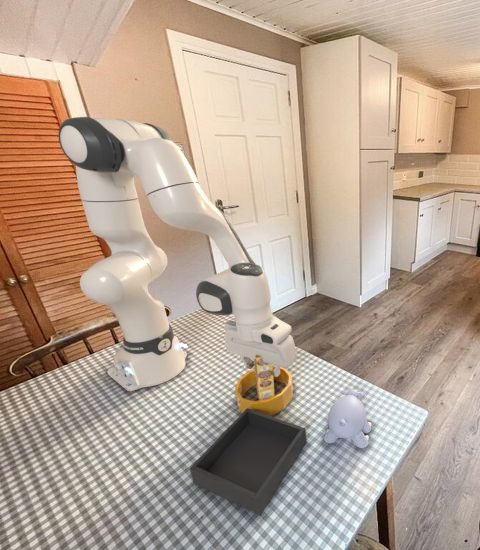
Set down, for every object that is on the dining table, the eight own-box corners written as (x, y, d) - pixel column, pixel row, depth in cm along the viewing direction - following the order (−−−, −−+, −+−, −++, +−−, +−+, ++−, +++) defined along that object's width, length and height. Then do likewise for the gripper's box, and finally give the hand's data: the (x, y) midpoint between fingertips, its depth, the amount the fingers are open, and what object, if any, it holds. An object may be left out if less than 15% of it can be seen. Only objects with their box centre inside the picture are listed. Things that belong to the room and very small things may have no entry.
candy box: (275, 403, 82) (273, 354, 78) (259, 407, 80) (255, 357, 76) (270, 383, 90) (267, 337, 85) (254, 387, 88) (251, 340, 83)
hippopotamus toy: (375, 407, 82) (375, 379, 78) (365, 458, 68) (366, 426, 64) (336, 402, 83) (335, 374, 80) (319, 451, 69) (317, 419, 66)
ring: (226, 408, 81) (222, 393, 79) (261, 374, 94) (259, 360, 92) (271, 424, 76) (269, 409, 74) (302, 386, 89) (301, 372, 87)
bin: (194, 484, 62) (189, 468, 60) (249, 422, 77) (247, 408, 75) (260, 516, 57) (256, 499, 55) (306, 443, 71) (305, 428, 69)
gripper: (214, 324, 77) (224, 369, 82) (281, 341, 70) (287, 388, 75) (232, 313, 82) (240, 356, 87) (297, 327, 75) (301, 372, 80)
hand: (263, 371), depth 81 cm, fingers open, 7 cm apart
